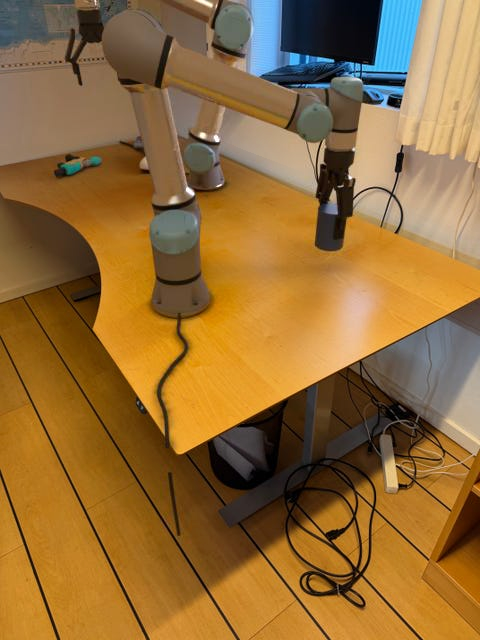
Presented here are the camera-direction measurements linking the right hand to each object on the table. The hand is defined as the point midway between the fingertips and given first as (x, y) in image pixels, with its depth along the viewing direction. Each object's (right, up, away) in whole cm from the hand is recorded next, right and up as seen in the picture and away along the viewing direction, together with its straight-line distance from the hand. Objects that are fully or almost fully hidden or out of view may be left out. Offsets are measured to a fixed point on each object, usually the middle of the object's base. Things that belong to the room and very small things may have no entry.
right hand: (100, 83), depth 162 cm
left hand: (+73, -57, -32) cm, 98 cm away
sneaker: (+10, -10, +55) cm, 57 cm away
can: (+73, -60, -30) cm, 99 cm away
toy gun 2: (+4, +6, +77) cm, 77 cm away
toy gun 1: (-28, -14, +50) cm, 59 cm away
